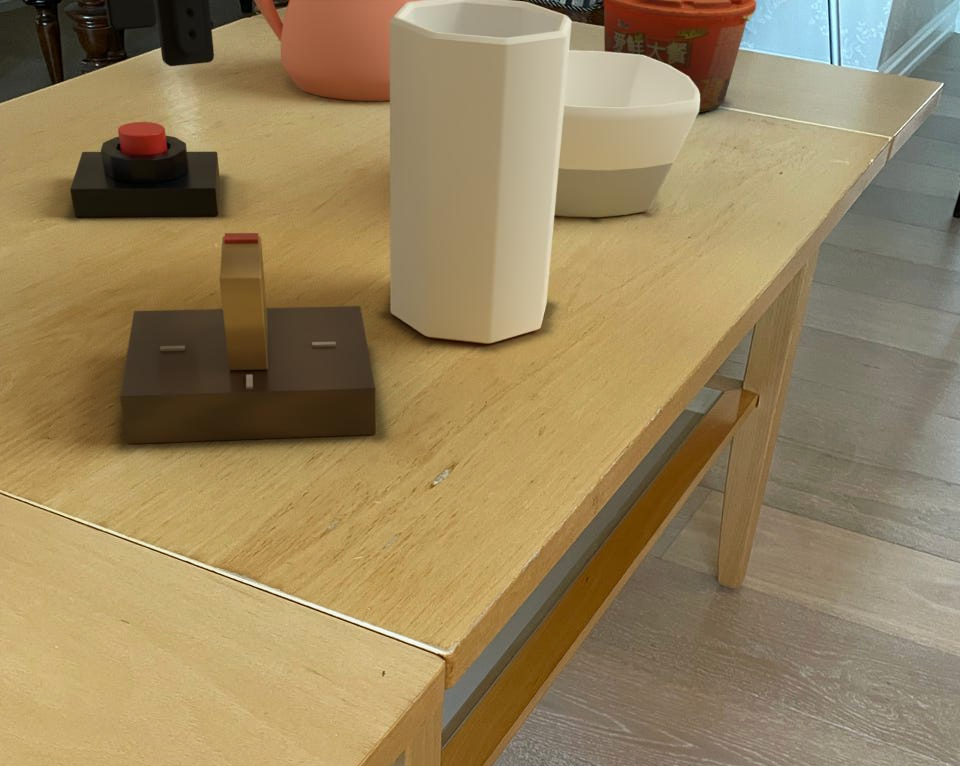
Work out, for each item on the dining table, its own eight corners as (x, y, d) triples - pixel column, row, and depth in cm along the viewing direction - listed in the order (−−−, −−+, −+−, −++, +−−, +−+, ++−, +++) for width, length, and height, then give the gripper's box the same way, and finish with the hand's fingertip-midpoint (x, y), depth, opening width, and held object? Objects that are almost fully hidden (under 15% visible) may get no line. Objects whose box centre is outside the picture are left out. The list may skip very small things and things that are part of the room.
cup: (444, 265, 86) (452, -13, 74) (576, 303, 82) (607, 15, 70) (357, 317, 79) (351, 17, 67) (498, 361, 75) (517, 50, 63)
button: (119, 159, 90) (115, 135, 89) (122, 144, 93) (119, 121, 92) (166, 158, 91) (163, 135, 90) (168, 144, 94) (165, 121, 93)
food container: (604, 70, 131) (616, -37, 124) (745, 88, 128) (764, -21, 122) (575, 108, 119) (586, -9, 113) (729, 128, 117) (750, 9, 110)
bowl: (457, 161, 105) (461, 48, 99) (643, 158, 108) (658, 48, 102) (500, 235, 92) (508, 110, 85) (710, 228, 95) (732, 107, 89)
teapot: (486, 67, 130) (492, -71, 121) (490, 111, 117) (498, -40, 109) (263, 57, 129) (253, -83, 120) (242, 99, 116) (230, -54, 107)
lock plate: (127, 444, 65) (119, 393, 63) (140, 355, 73) (133, 308, 71) (376, 434, 67) (375, 385, 65) (361, 349, 75) (360, 303, 73)
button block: (75, 217, 90) (65, 165, 88) (86, 178, 97) (78, 128, 94) (218, 216, 92) (213, 164, 89) (219, 177, 99) (215, 128, 96)
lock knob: (267, 370, 66) (260, 273, 62) (228, 370, 66) (219, 273, 62) (267, 324, 71) (260, 231, 67) (231, 324, 70) (222, 231, 67)
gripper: (5, -304, 68) (60, 20, 79) (105, -287, 57) (153, 85, 68) (129, -299, 71) (165, 11, 82) (246, -282, 60) (269, 72, 71)
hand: (159, 44), depth 75 cm, fingers open, 9 cm apart
